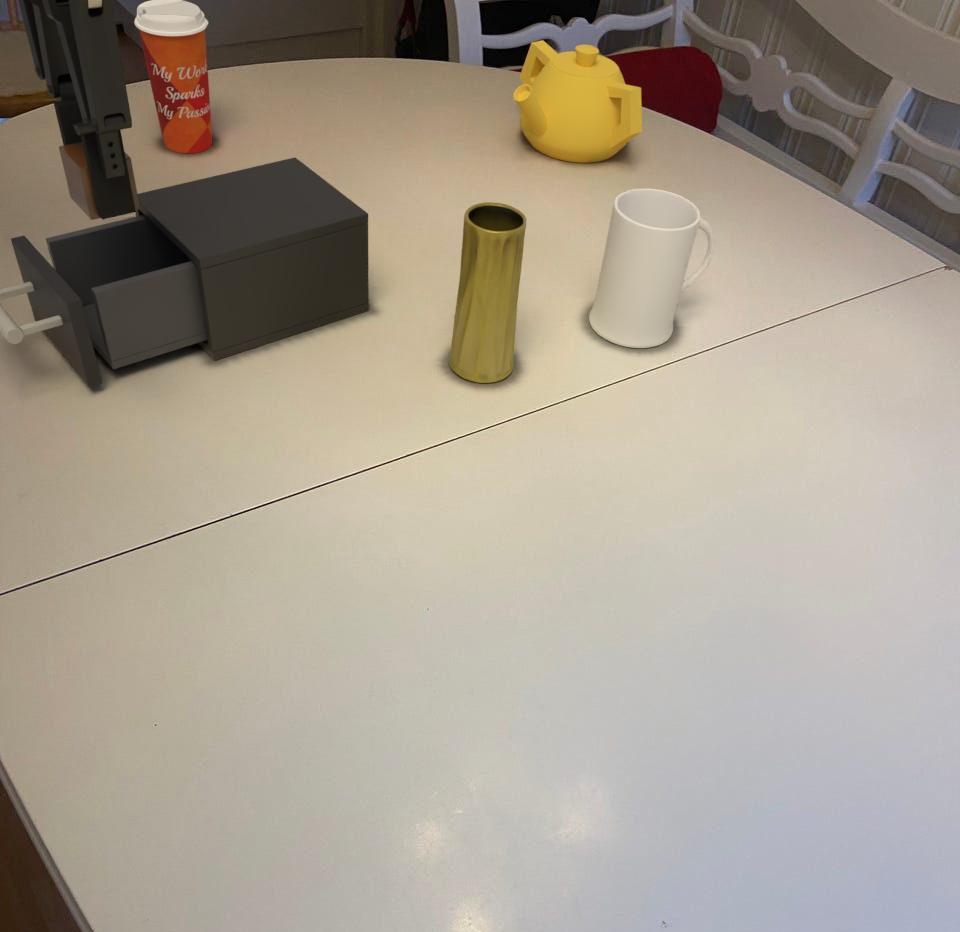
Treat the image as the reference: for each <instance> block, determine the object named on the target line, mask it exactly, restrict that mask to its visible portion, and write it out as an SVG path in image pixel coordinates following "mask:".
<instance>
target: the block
mask: <svg viewBox="0 0 960 932" xmlns="http://www.w3.org/2000/svg"><path fill="white" fill-rule="evenodd" d="M58 150H59V155H60V158H61V163H62V167H63V172H64V175H65V180H66V184H67V189H68V193H69V196H70V199H71V200H72V201H73V202H74V203H75V204H76V205H77V207H79V209H81V211H82V212H83V213H84V214H85V215H86V216H87V217H88V218H89V219H90V220H91V221H93V220H98V219H101V218H100V217H99V215H98V211H97V206H96V202H95V197H94V192H93V188H92V183H91V179H90V174H89V169H88V166H87V161H86V157H85V152H84V148H83V143H82V142H79V143H74V144H69V145H63V144H62V145H59V146H58ZM125 157H126V162H127V168H128V173H129V178H130V184H131V189H132V194H133V200H134V205H135V210H138V209H140V206H139V200H138V195H137V194H138V189H137V183H136V179H135V174H134V168H133V163H132V158H131V156H130V155H128V153H126V152H125Z"/></svg>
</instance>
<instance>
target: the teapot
mask: <svg viewBox="0 0 960 932" xmlns="http://www.w3.org/2000/svg"><path fill="white" fill-rule="evenodd" d="M574 48H575V49H574V51H572V50H571V51H564V52H560V53H558V52H557V51H556V50H555V49H554V48H553V47H551V46H550V45H549V44H548V43H547V42H545V40H543V39H542V40H538V41H533V42H531V43H530V45H529V49H528V51H527V55H526V57H525V61H524V63H523V66H522V68H521V72H520V74H519V79H520V81H521V84H522V85H519V86H518V87H517V88H516V89H515V90H514V92H513V100H514V101H515V103H516V105H517V106H518V108H519V110H520V116H519V125H520V128H521V131H522V133H523V135H524V136H525V138H526V140H527V141H528V142H529V144H530V145H531V146H532V147H533V149H535V150H536V151H538V152H539V153H541V154H543V155H545V156H547V157H550V158H552V159H556V160H560V161H565V162H569V163H570V162H571V163H578V164H579V163H581V164H582V163H583V164H586V163H587V164H588V163H597V162H602V161H605V160H608V159H610V158H612V157H614V156H615V155H616V154H617V153H618V152H619V151H620V150H622V149H623V148H624V147H625V146H626V145H627V144H628V142H629V141H630V140H632V139H633V138H635V137H637V135H640V134H641V133H642V132H643V112H642V111H643V110H642V108H643V107H642V106H643V105H642V87H640V86H636V85H631V84H626V82H625V79H624V75H623V74H622V71H621V70H620V67H619V65H618V64H617V63H616V62H615V61H613V60H612V59H610V58H608V57H607V56H604V55H601V54H599V53H600V50H599V48H598V47H596V46H594V45H591V44H584V43H583V44H579V45H576V46H575V47H574Z"/></svg>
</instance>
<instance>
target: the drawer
mask: <svg viewBox="0 0 960 932" xmlns="http://www.w3.org/2000/svg"><path fill="white" fill-rule="evenodd" d="M45 241H46V245H47V249H48V253H49V257H50V260H51V264H52V265H51V264H50V262H49V261H48V260H47V259H46V258H45V257H44V256H43V254H42V253H41V252H40V251H39V250H38V249H37V248H36V247H35V246H34V245H33V243H32V242H31V241H30V240H29V239H28V237H26V235H19V236H16V237H11V238H10V242H11V246H12V249H13V252H14V255H15V259H16V263H17V265H18V268H19V273H20V275H21V279H22V282H23V283H20V284H15V285H12V286H8V287H5V288H0V301H1V300H5V299H9V298H13V297H17V296H21V295H23V294H26V295H27V299H28V301H29V305H30V309H31V312H32V315H33V319H34V321H32V322H29V323H26V324H23V325H19V326H18V324H17V322H16V321H14V319H13V318H12V317H11V315H10V314H9V313H8V311H6V309H5V308H4V307H3V305H2V304H1V303H0V334H1V335H2V336H3V337H4V339H5V340H6V341H7V342H8V343H9V344H12V345H18V344H20V343H21V342H23V340H24V337H25V336H29V335H32V334H35V333H39V332H42V331H43V333H44V334H45V336H46V337H47V338H48V339H49V340H50V342H51V343H52V344H54V346H55V348H56V349H57V350H58V351H59V352H60V354H61V355H62V356H63V357H64V358H65V360H66V361H67V362H68V363H69V364H70V366H71V367H72V368H73V370H74V371H75V372H76V373H77V375H79V377H80V378H81V379H82V380H83V382H84V383H85V384H86V385H87V386H88V388H91V387H94V386H97V385H100V384H102V383H103V380H102V376H101V372H100V368H99V364H98V360H97V357H96V353H95V350H96V351H97V352H98V353H99V355H100V356H101V357H102V358H103V359H104V361H105V362H106V363H107V364H108V365H109V366H110V367H111V369H112V370H116V369H119V368H123V367H126V366H129V365H132V364H135V363H138V362H141V361H145V360H147V359H151V358H154V357H157V356H160V355H161V356H162V355H163V354H167V353H170V352H173V351H177V350H180V349H183V348H186V347H189V346H193V345H195V344H198V343H199V342H202V341H205V340H207V333H206V326H205V320H204V313H203V306H202V300H201V293H200V286H199V280H198V273H197V265H196V264H195V263H194V262H193V261H192V260H191V259H190V258H189V257H188V256H187V255H186V254H185V253H184V252H182V251H181V250H180V249H179V248H178V247H177V246H176V245H175V244H174V243H173V242H172V241H171V240H170V239H169V238H168V237H167V236H166V235H165V234H164V233H163V232H162V231H161V230H160V229H159V228H157V227H156V226H155V225H154V224H153V223H152V222H151V221H150V220H149V219H148V218H147V217H146V216H145V215H140V216H136V215H135V216H132V217H128V218H123V219H120V220H119V219H118V220H116V221H111V222H106V223H103V224H99V225H94V226H90V227H86V228H82V229H78V230H74V231H70V232H65V233H62V234H57V235H53V236H49V237H46V238H45Z"/></svg>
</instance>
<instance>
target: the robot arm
mask: <svg viewBox="0 0 960 932" xmlns="http://www.w3.org/2000/svg"><path fill="white" fill-rule="evenodd" d="M17 2H18V5H19V9H20V13H21V18H22V21H23V25H24V29H25V33H26V37H27V40H28V45H29V49H30V53H31V57H32V61H33V65H34V71H35V73H36V76H37V77H38V78H39V80H40V81H44V80H45V82H46V85H45V86H46V90H47V93H48V94H49V95H50V97H51V99H56V101H53V106H54V107H53V108H54V110H55V115H56V120H57V123H58V128H59V132H60V137H61V140H62V146H63V145H69V144H74V143H79V142H82V143H83V148H84V152H85V157H86V161H87V166H88V169H89V174H90V179H91V183H92V188H93V192H94V197H95V202H96V206H97V211H98V215H99V217H100V218H99V219H101V220H102V221H103V220H106V219H111V218H115V217H120V216H124V215H129V214H132V213H133V214H134V213H135V212H136V210H135V205H134V200H133V194H132V189H131V184H130V178H129V173H128V168H127V162H126V157H125V153H126V152H125V147H124V142H123V137H122V130H127V129H131V128H133V120H132V115H131V108H130V102H129V97H128V96H129V95H128V91H127V85H126V77H125V72H124V65H123V61H122V60H123V59H122V54H121V47H120V42H119V36H118V35H119V34H118V29H117V24H116V17H115V9H114V6H115V5H114V0H17Z"/></svg>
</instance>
